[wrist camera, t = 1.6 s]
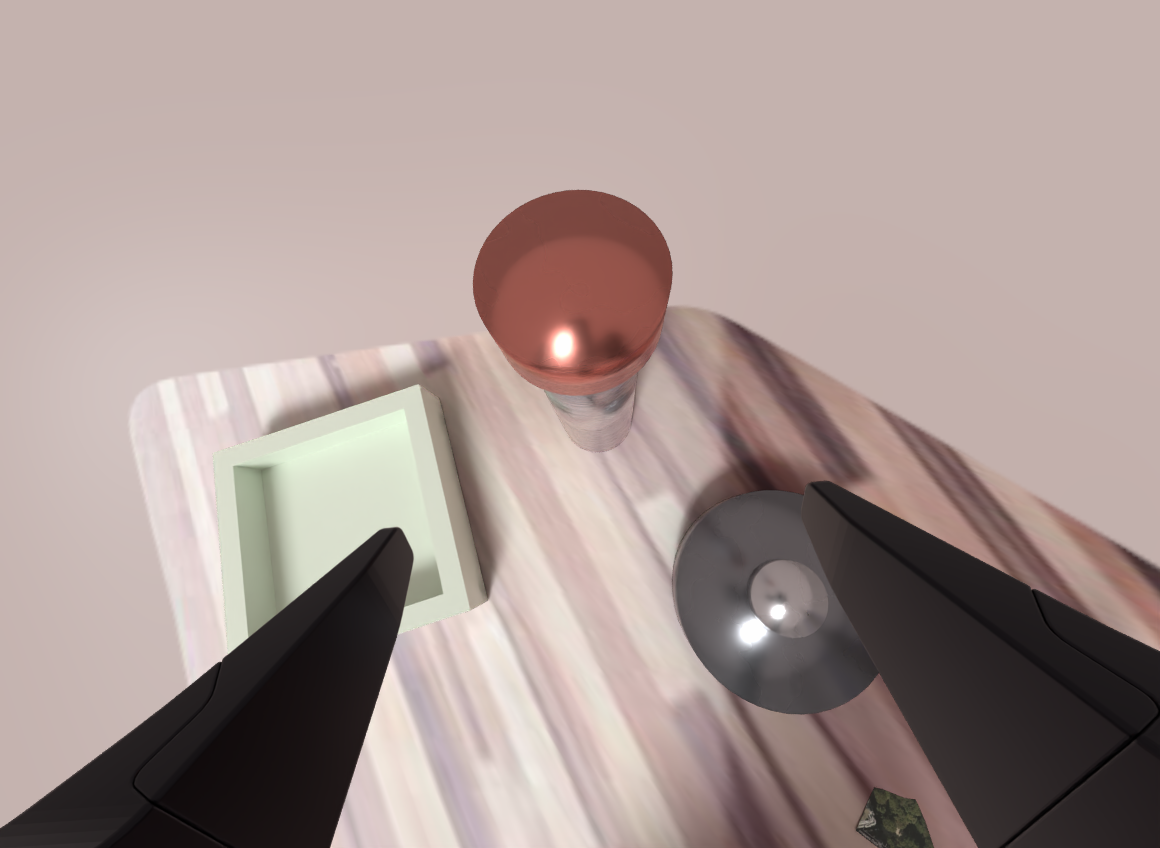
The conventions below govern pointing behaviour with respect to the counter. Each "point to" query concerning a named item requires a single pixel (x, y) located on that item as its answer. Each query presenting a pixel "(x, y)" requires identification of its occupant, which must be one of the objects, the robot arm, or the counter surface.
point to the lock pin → (577, 304)
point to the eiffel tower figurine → (894, 822)
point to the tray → (344, 509)
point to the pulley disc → (766, 607)
